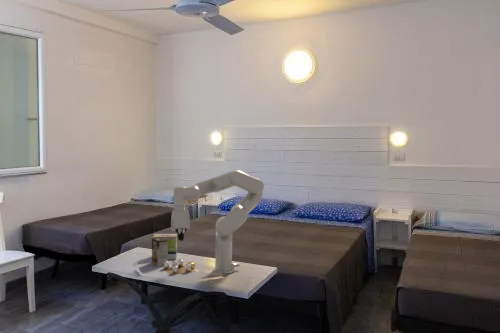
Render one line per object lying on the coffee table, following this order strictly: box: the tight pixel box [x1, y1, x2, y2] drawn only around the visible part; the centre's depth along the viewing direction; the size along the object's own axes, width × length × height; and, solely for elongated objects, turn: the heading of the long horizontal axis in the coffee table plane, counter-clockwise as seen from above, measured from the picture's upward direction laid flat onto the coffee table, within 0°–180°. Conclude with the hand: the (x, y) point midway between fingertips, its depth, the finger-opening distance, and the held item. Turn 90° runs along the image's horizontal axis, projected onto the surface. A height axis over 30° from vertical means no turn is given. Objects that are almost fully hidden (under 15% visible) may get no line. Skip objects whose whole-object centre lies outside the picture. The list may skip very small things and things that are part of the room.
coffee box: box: [151, 237, 169, 267], centre depth 255 cm, size 9×6×16 cm
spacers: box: [163, 258, 192, 275], centre depth 243 cm, size 12×14×4 cm
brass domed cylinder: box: [187, 261, 196, 269], centre depth 247 cm, size 4×4×3 cm
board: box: [162, 264, 200, 276], centre depth 244 cm, size 17×15×1 cm
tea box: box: [151, 233, 178, 260], centre depth 273 cm, size 15×10×15 cm
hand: (180, 240), depth 243 cm, fingers closed
